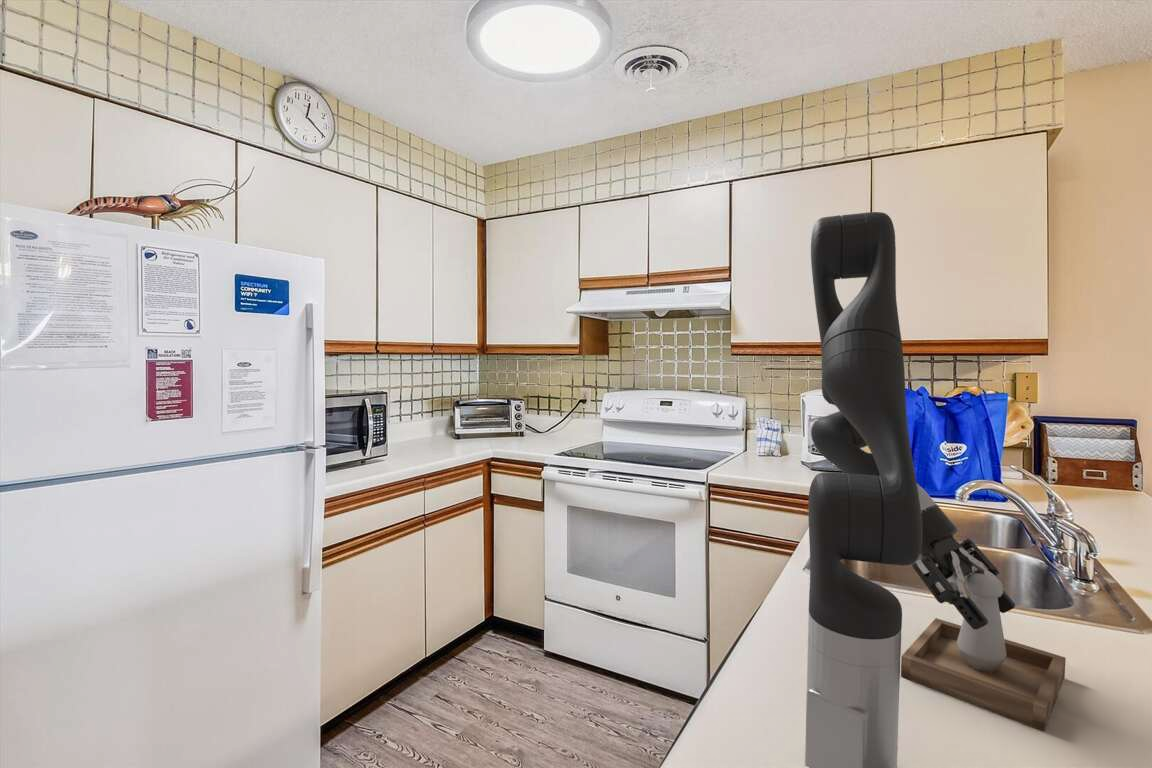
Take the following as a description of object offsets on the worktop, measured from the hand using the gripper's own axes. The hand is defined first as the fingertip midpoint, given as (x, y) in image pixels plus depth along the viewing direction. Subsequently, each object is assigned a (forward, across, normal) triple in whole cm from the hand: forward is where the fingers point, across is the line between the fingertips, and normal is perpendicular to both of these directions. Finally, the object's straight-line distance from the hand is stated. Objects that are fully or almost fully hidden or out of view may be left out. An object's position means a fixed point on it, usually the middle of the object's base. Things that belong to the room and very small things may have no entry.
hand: (996, 618), depth 79 cm
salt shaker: (+4, +1, +7) cm, 9 cm away
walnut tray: (+6, 0, +7) cm, 9 cm away
